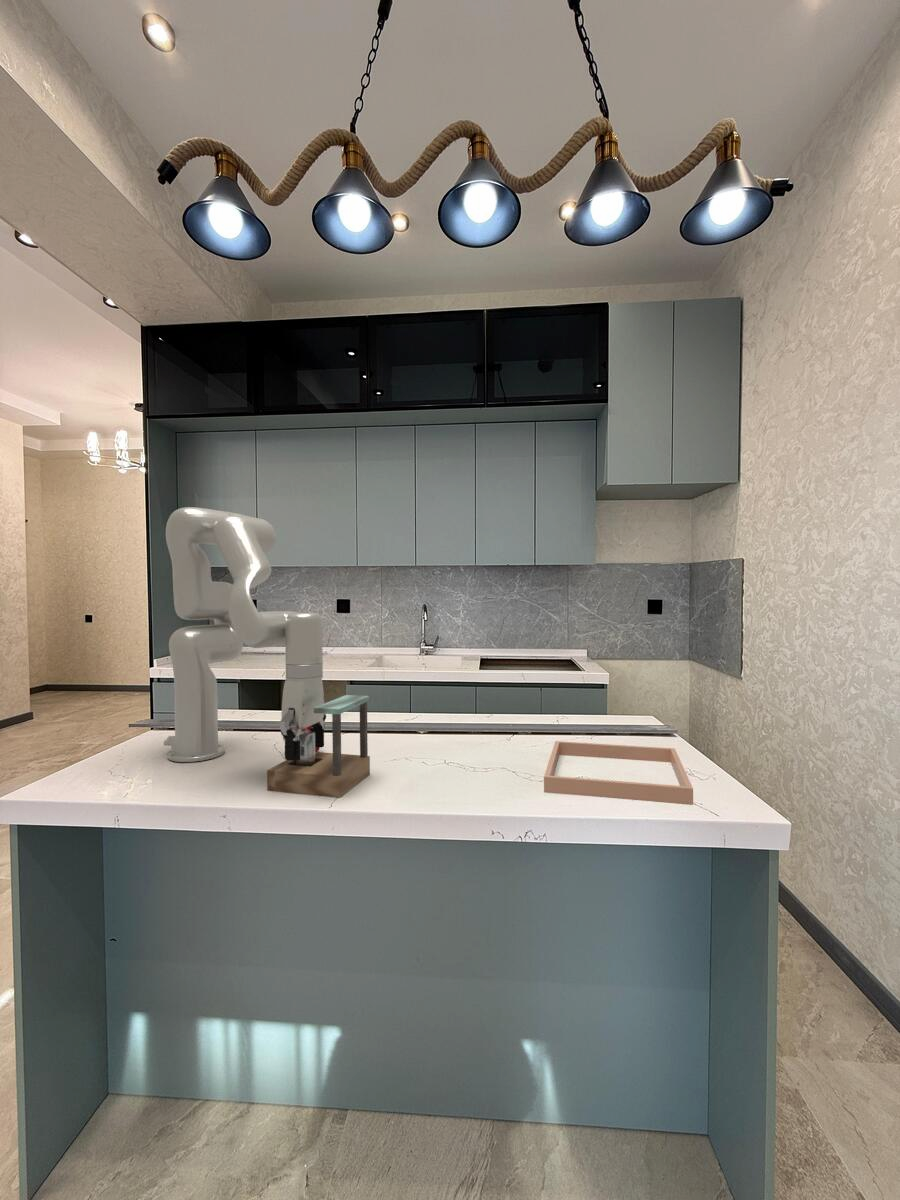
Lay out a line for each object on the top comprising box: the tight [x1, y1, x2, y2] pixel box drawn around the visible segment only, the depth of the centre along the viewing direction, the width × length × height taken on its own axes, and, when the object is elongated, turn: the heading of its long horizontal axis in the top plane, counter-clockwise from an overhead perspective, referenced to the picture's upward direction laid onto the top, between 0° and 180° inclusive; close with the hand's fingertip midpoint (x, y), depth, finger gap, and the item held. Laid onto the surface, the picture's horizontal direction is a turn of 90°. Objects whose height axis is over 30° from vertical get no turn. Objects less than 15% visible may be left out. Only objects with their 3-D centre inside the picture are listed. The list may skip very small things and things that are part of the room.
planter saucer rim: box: [543, 740, 694, 806], centre depth 118 cm, size 27×27×3 cm
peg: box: [296, 731, 315, 767], centre depth 116 cm, size 4×4×10 cm
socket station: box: [266, 694, 371, 798], centre depth 115 cm, size 16×14×17 cm
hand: (305, 753), depth 116 cm, fingers open, 9 cm apart
